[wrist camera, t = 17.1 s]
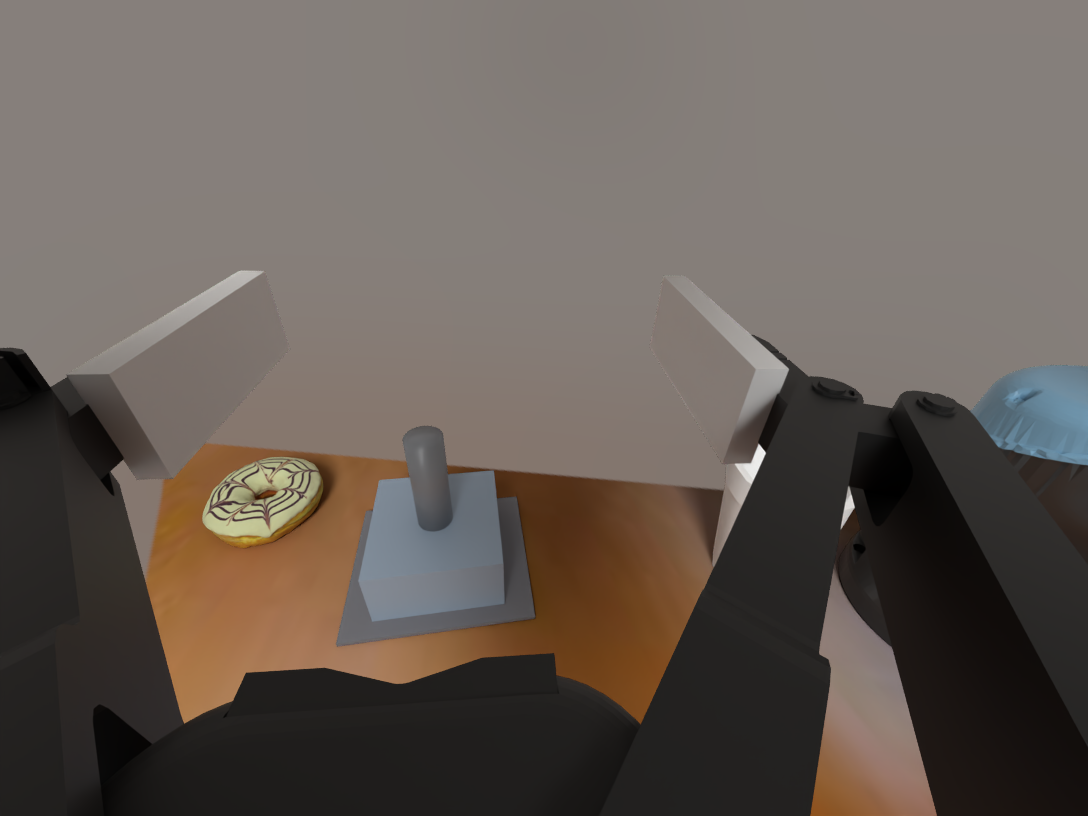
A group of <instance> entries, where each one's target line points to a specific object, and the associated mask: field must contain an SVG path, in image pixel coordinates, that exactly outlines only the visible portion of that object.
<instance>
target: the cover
mask: <svg viewBox="0 0 1088 816" xmlns="http://www.w3.org/2000/svg"><path fill="white" fill-rule="evenodd" d="M403 445H404V450H405V456H406V461H407V466H408V471H409V477H410V478H400V479H388V480H379V485H378V490H377V494H376V499H375V504H374V509H373V514H372V518H371V523H370V528H369V533H368V537H367V542H366V547H365V552H364V557H363V561H362V566H361V571H360V576H359V580H358V582H359V585H360V587H361V590H362V593H363V596H364V599H365V602H366V605H367V608H368V611H369V614H370V617H371V619H372V622H373V621H381V620H388V619H396V618H403V617H410V616H418V615H425V614H433V613H440V612H447V611H455V610H462V609H470V608H477V607H485V606H492V605H499V604H505V601H504V565H503V554H502V545H501V535H500V525H499V516H498V506H497V496H496V487H495V477H494V470H493V471H481V472H470V473H458V474H448V471H447V463H446V456H445V446H444V438H443V433H442V431H441V430H440V429H438V428H436V427H432V426H420V427H416V428H414V429H412V430H410V431H408V432H407V433H406V434H405V435H404V437H403Z"/></svg>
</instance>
